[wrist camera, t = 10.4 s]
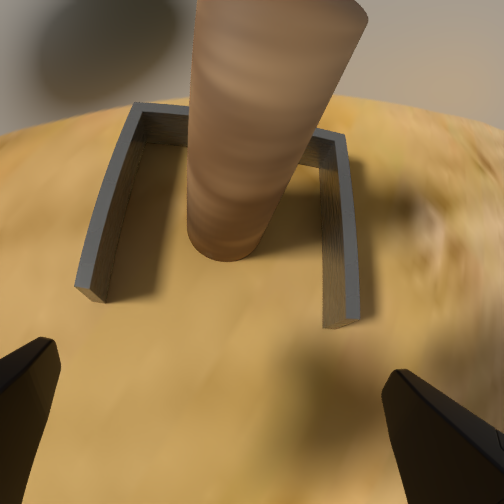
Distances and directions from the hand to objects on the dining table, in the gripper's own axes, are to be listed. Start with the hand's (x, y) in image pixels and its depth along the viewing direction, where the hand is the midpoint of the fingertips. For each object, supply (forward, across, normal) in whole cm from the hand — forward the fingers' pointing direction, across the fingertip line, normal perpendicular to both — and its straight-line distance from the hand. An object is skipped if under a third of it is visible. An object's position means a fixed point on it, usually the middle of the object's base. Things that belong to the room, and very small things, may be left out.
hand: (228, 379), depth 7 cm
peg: (+12, 0, 0) cm, 12 cm away
